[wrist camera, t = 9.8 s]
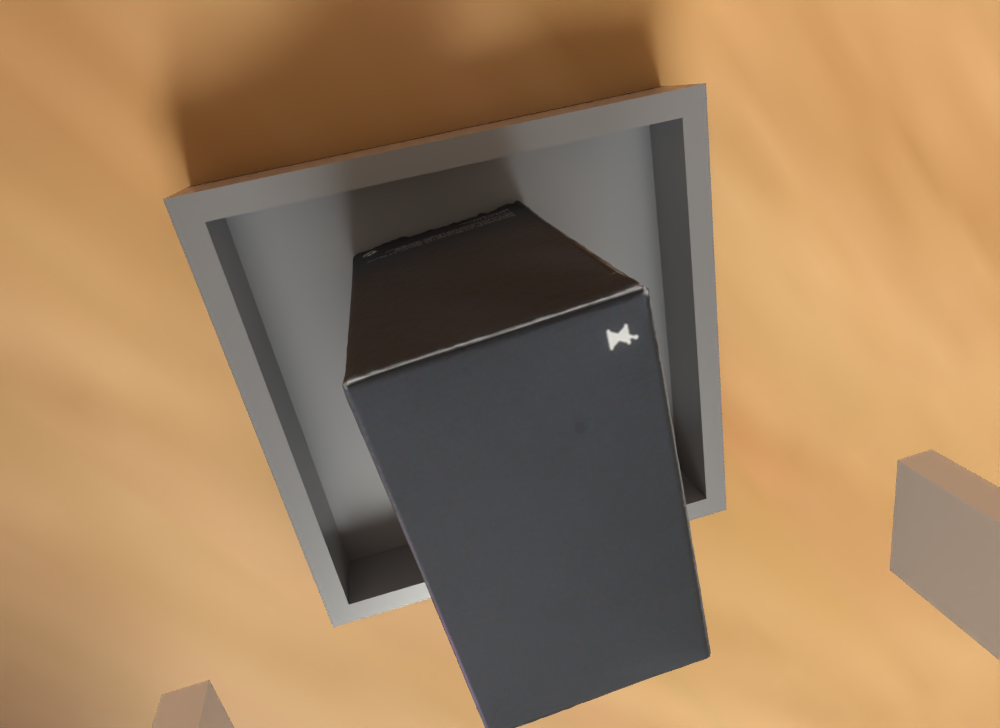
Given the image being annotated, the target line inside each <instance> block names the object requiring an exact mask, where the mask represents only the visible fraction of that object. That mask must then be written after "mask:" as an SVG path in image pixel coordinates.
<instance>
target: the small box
mask: <svg viewBox="0 0 1000 728" xmlns="http://www.w3.org/2000/svg"><path fill="white" fill-rule="evenodd" d="M346 353H347V357H346V371H345V376H344V380H343V385H342V386H343V390H344V394H345V396H346V399H347V401H348V404H349V406H350V408H351V410H352V412H353V414H354V417H355V419H356V422H357V424H358V427H359V429H360V432H361V434H362V436H363V438H364V441H365V443H366V445H367V448H368V450H369V452H370V455H371V457H372V459H373V462H374V464H375V467H376V469H377V471H378V474H379V476H380V478H381V481H382V483H383V485H384V488H385V490H386V493H387V495H388V497H389V500H390V502H391V504H392V507H393V509H394V511H395V514H396V516H397V518H398V521H399V523H400V525H401V528H402V530H403V532H404V535H405V537H406V539H407V542H408V544H409V547H410V549H411V551H412V554H413V556H414V558H415V561H416V563H417V565H418V568H419V570H420V572H421V575H422V577H423V580H424V582H425V584H426V587H427V589H428V591H429V594H430V596H431V599H432V601H433V603H434V606H435V608H436V611H437V613H438V615H439V618H440V620H441V623H442V625H443V627H444V630H445V632H446V634H447V637H448V639H449V642H450V644H451V646H452V649H453V651H454V654H455V656H456V658H457V661H458V663H459V666H460V668H461V671H462V673H463V675H464V678H465V680H466V683H467V685H468V688H469V690H470V692H471V695H472V697H473V699H474V702H475V704H476V707H477V709H478V712H479V714H480V716H481V718H482V721H483V724H484V726H485V728H515V727H519V726H522V725H525V724H528V723H530V722H533V721H536V720H538V719H541V718H544V717H547V716H550V715H552V714H555V713H558V712H560V711H562V710H566V709H569V708H571V707H573V706H576V705H578V704H581V703H584V702H587V701H589V700H592V699H595V698H598V697H600V696H603V695H605V694H608V693H611V692H613V691H616V690H619V689H622V688H624V687H627V686H630V685H633V684H635V683H638V682H640V681H643V680H646V679H649V678H651V677H654V676H657V675H660V674H663V673H666V672H669V671H672V670H675V669H678V668H681V667H683V666H686V665H689V664H692V663H695V662H698V661H701V660H704V659H707V658H708V657H710V653H711V652H710V645H709V640H708V634H707V627H706V621H705V615H704V609H703V604H702V597H701V590H700V584H699V579H698V574H697V566H696V560H695V555H694V549H693V543H692V537H691V530H690V523H689V518H688V511H687V506H686V501H685V495H684V488H683V483H682V477H681V471H680V465H679V460H678V455H677V449H676V442H675V435H674V429H673V423H672V418H671V413H670V406H669V399H668V393H667V386H666V381H665V376H664V370H663V364H662V359H661V354H660V345H659V342H658V335H657V331H656V325H655V319H654V313H653V307H652V300H651V294H650V291H649V289H648V288H647V287H644V286H643V285H642V284H640V283H639V282H638V281H637V280H635V279H634V278H630V277H629V276H627V275H626V274H625V273H623V272H621V271H620V270H618V269H616V268H615V267H613V266H612V265H611V264H610V263H608V262H607V261H605V260H603V259H602V258H601V257H599V256H598V255H596V254H595V253H593V252H591V251H590V250H588V249H587V248H586V247H585V246H584V245H581V244H580V243H578V242H577V241H576V240H574V239H571V238H570V237H568V236H567V235H566V234H564V233H562V232H561V231H560V230H558V229H557V228H555V227H554V226H553V225H551V224H550V223H548V222H546V221H545V220H544V219H543V218H541V217H539V215H537V214H536V213H535V212H533V211H532V210H531V209H530V208H529V207H528V206H526V205H525V204H523V203H521V202H520V201H518V200H517V201H515V202H514V204H506V205H503V206H501V207H499V208H497V209H496V210H494V211H492V212H489V213H480V214H478V215H477V216H476V217H472V218H468V219H466V220H462V221H460V222H458V223H455V222H454V223H452V224H450V225H448V226H443V227H441V228H437V229H429V230H428V231H426V232H423V233H421V234H417V235H414V236H411V237H406V236H404V237H400V238H398V239H395V240H392V241H390V242H387V243H384V244H382V245H380V246H377V247H375V248H373V249H371V250H368V251H364V252H361V253H358V254H356V255H355V256H354V257H353V271H352V289H351V302H350V316H349V330H348V344H347V351H346Z"/></svg>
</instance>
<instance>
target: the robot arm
mask: <svg viewBox="0 0 1000 728" xmlns="http://www.w3.org/2000/svg"><path fill="white" fill-rule="evenodd" d="M890 571H892V572H893V573H894V574H895V575H897V576H898V577H899V578H900V579H901V580H903V581H904V582H905V583H906V584H907V585H909V586H910V587H911V588H912V589H913V590H915V591H916V592H917V593H918V594H920V595H921V596H922V597H923V598H924V599H926V600H927V601H928V602H929V603H930V604H932V605H933V606H934V607H935V608H937V609H938V610H939V611H940V612H941V613H943V614H944V615H945V616H946V617H947V618H949V619H950V620H951V621H952V622H954V623H955V624H956V625H957V626H958V627H960V628H961V629H962V630H963V631H964V632H966V633H967V634H968V635H969V636H971V637H972V638H973V639H974V640H975V641H977V642H978V643H979V644H980V645H981V646H983V647H984V648H985V649H986V650H988V651H989V652H990V653H991V654H992V655H994V656H995V657H996V658H997V659H998V660H1000V487H998V486H996V485H994V484H992V483H991V482H989V481H987V480H985V479H984V478H982V477H980V476H978V475H976V474H975V473H973V472H971V471H969V470H967V469H966V468H964V467H962V466H960V465H959V464H957V463H955V462H953V461H951V460H950V459H948V458H946V457H944V456H942V455H941V454H939V453H937V452H935V451H934V450H929V451H925V452H922V453H919V454H916V455H913V456H910V457H907V458H904V459H900V460H898V464H897V478H896V491H895V505H894V519H893V532H892V546H891V559H890ZM152 728H234V726H233V724H232V723H231V721H230V719H229V717H228V715H227V713H226V711H225V709H224V707H223V705H222V703H221V701H220V699H219V698H218V696H217V694H216V692H215V690H214V688H213V686H212V684H211V682H210V680H208V681H205V682H201V683H198V684H195V685H192V686H189V687H186V688H183V689H179V690H176V691H173V692H170V693H167V694H164V695H162V696H161V699H160V702H159V706H158V709H157V712H156V715H155V718H154V721H153V725H152Z"/></svg>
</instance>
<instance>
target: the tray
mask: <svg viewBox="0 0 1000 728" xmlns="http://www.w3.org/2000/svg"><path fill="white" fill-rule="evenodd" d="M163 200H164V203H165V205H166V208H167V210H168V213H169V215H170V218H171V220H172V223H173V225H174V228H175V230H176V233H177V235H178V238H179V240H180V243H181V245H182V248H183V251H184V253H185V256H186V258H187V261H188V263H189V266H190V268H191V271H192V273H193V276H194V278H195V281H196V283H197V286H198V288H199V291H200V293H201V296H202V298H203V301H204V303H205V306H206V308H207V311H208V313H209V316H210V318H211V321H212V324H213V326H214V329H215V331H216V334H217V336H218V339H219V341H220V344H221V346H222V349H223V351H224V354H225V356H226V359H227V361H228V364H229V366H230V369H231V371H232V374H233V376H234V379H235V381H236V384H237V386H238V389H239V392H240V394H241V397H242V399H243V402H244V404H245V407H246V409H247V412H248V414H249V417H250V419H251V422H252V424H253V427H254V429H255V432H256V434H257V437H258V439H259V442H260V444H261V447H262V449H263V452H264V454H265V457H266V460H267V462H268V465H269V467H270V470H271V472H272V475H273V477H274V480H275V482H276V485H277V487H278V490H279V492H280V495H281V497H282V500H283V502H284V505H285V507H286V510H287V512H288V515H289V517H290V520H291V522H292V525H293V527H294V530H295V533H296V535H297V538H298V540H299V543H300V545H301V548H302V550H303V553H304V555H305V558H306V560H307V563H308V565H309V568H310V570H311V573H312V575H313V578H314V580H315V583H316V585H317V588H318V590H319V593H320V595H321V598H322V601H323V603H324V606H325V608H326V611H327V613H328V616H329V618H330V621H331V623H332V626H333V627H336V626H339V625H343V624H346V623H349V622H353V621H356V620H359V619H363V618H366V617H369V616H373V615H376V614H379V613H383V612H386V611H390V610H393V609H396V608H400V607H403V606H406V605H410V604H413V603H416V602H420V601H423V600H426V599H430V598H431V596H430V594H429V591H428V589H427V587H426V584H425V582H424V580H423V577H422V575H421V572H420V570H419V568H418V565H417V563H416V561H415V558H414V556H413V554H412V551H411V549H410V547H409V544H408V542H407V539H406V537H405V535H404V532H403V530H402V528H401V525H400V523H399V521H398V518H397V516H396V514H395V511H394V509H393V507H392V504H391V502H390V500H389V497H388V495H387V493H386V490H385V488H384V485H383V483H382V481H381V478H380V476H379V474H378V471H377V469H376V467H375V464H374V462H373V459H372V457H371V455H370V452H369V450H368V448H367V445H366V443H365V441H364V438H363V436H362V434H361V432H360V429H359V427H358V424H357V422H356V419H355V417H354V414H353V412H352V410H351V408H350V406H349V404H348V401H347V399H346V396H345V394H344V390H343V386H342V385H343V380H344V376H345V371H346V357H347V353H346V351H347V344H348V330H349V316H350V302H351V289H352V271H353V257H354V256H355V255H356V254H358V253H361V252H364V251H368V250H371V249H373V248H375V247H377V246H380V245H382V244H384V243H387V242H390V241H392V240H395V239H398V238H400V237H404V236H406V237H411V236H414V235H417V234H421V233H423V232H426V231H428V230H429V229H437V228H441V227H443V226H448V225H450V224H452V223H454V222H455V223H458V222H460V221H462V220H466V219H468V218H472V217H476V216H477V215H478V214H480V213H489V212H492V211H494V210H496V209H497V208H499V207H501V206H503V205H506V204H514V202H515V201H517V200H518V201H520V202H521V203H523V204H525V205H526V206H528V207H529V208H530V209H531V210H532V211H533V212H535V213H536V214H537V215H539V217H541V218H543V219H544V220H545V221H546V222H548V223H550V224H551V225H553V226H554V227H555V228H557V229H558V230H560V231H561V232H562V233H564V234H566V235H567V236H568V237H570V238H571V239H574V240H576V241H577V242H578V243H580V244H581V245H584V246H585V247H586V248H587V249H588V250H590V251H591V252H593V253H595V254H596V255H598V256H599V257H601V258H602V259H603V260H605V261H607V262H608V263H610V264H611V265H612V266H613V267H615V268H616V269H618V270H620V271H621V272H623V273H625V274H626V275H627V276H629V277H630V278H634V279H635V280H637V281H638V282H639V283H640V284H642V285H643V286H644V287H647V288H648V289H649V291H650V294H651V300H652V307H653V313H654V319H655V325H656V331H657V335H658V342H659V345H660V354H661V359H662V364H663V370H664V376H665V381H666V386H667V393H668V399H669V406H670V413H671V418H672V423H673V429H674V435H675V442H676V449H677V455H678V460H679V465H680V471H681V477H682V483H683V488H684V495H685V501H686V506H687V511H688V518H689V521H690V520H693V519H697V518H700V517H703V516H707V515H710V514H713V513H717V512H720V511H723V510H726V491H725V470H724V449H723V428H722V408H721V387H720V366H719V345H718V324H717V303H716V282H715V261H714V240H713V220H712V199H711V178H710V157H709V136H708V115H707V94H706V83H705V84H691V85H677V86H663V87H657V88H653V89H648V90H643V91H638V92H634V93H629V94H624V95H620V96H615V97H610V98H605V99H601V100H596V101H591V102H587V103H582V104H577V105H572V106H568V107H563V108H558V109H554V110H549V111H544V112H539V113H535V114H530V115H525V116H521V117H516V118H511V119H506V120H502V121H497V122H492V123H488V124H483V125H478V126H473V127H469V128H464V129H459V130H454V131H450V132H445V133H440V134H436V135H431V136H426V137H421V138H417V139H412V140H407V141H403V142H398V143H393V144H388V145H384V146H379V147H374V148H370V149H365V150H360V151H355V152H351V153H346V154H341V155H337V156H332V157H327V158H322V159H318V160H313V161H308V162H304V163H299V164H294V165H289V166H285V167H280V168H275V169H270V170H266V171H261V172H256V173H252V174H247V175H242V176H237V177H233V178H228V179H223V180H219V181H214V182H209V183H204V184H200V185H195V186H190V187H188V188H186V189H184V190H182V191H180V192H177V193H175V194H173V195H171V196H169V197H167V198H165V199H163Z"/></svg>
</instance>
